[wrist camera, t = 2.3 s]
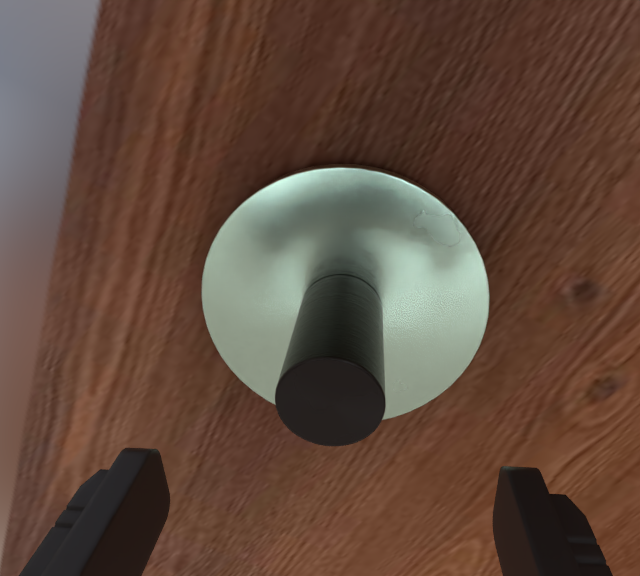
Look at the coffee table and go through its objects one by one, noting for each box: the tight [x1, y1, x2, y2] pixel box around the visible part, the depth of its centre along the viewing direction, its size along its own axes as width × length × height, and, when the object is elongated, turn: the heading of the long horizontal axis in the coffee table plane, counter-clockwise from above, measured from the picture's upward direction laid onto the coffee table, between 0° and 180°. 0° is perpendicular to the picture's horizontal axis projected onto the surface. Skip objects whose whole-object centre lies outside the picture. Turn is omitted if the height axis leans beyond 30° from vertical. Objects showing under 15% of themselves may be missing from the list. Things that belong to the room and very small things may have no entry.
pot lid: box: [201, 164, 490, 446], centre depth 17 cm, size 11×11×7 cm
